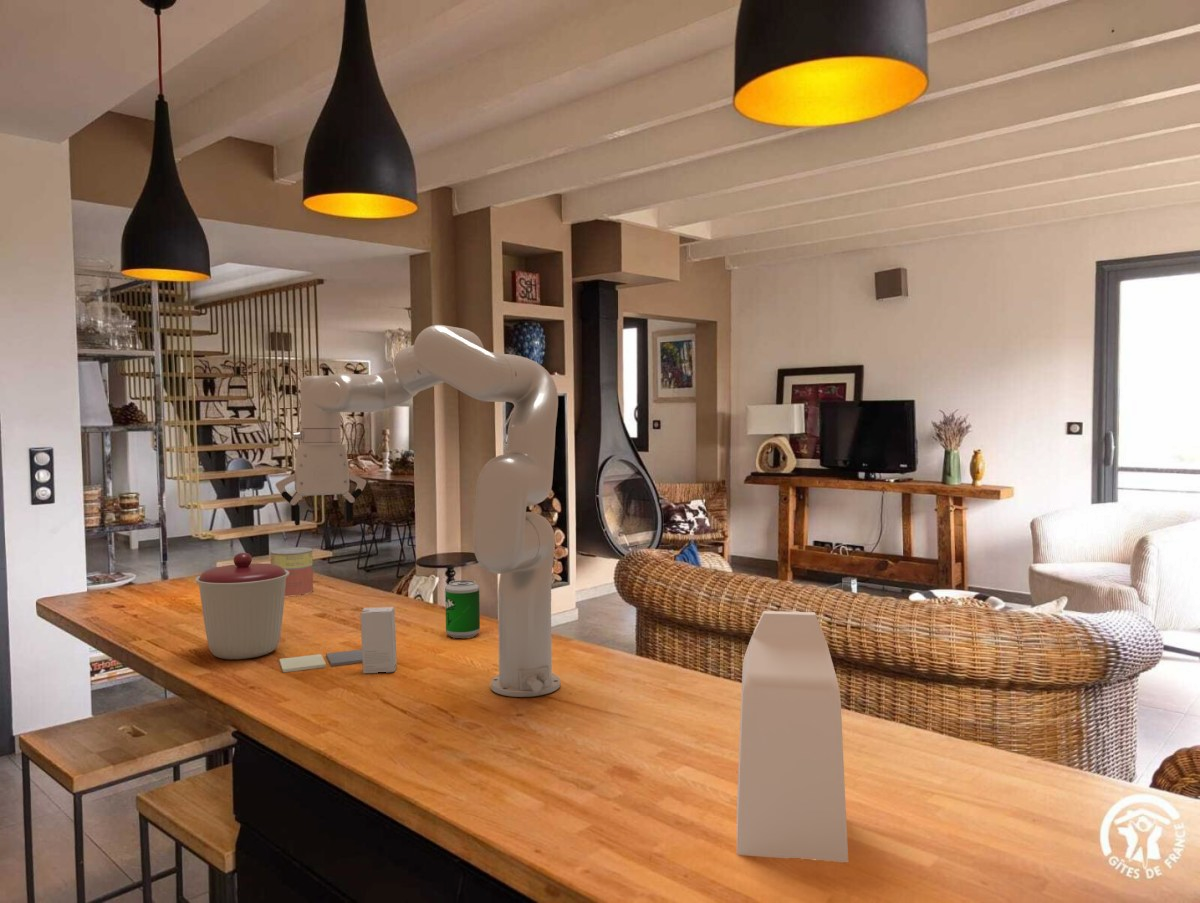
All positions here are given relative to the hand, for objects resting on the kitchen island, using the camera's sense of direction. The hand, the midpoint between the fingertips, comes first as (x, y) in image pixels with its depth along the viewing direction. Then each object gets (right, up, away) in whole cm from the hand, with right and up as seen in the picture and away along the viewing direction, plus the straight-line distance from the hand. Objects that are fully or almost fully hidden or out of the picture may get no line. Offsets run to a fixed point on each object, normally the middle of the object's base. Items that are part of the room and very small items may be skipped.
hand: (322, 523), depth 172 cm
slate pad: (+5, -28, +3) cm, 28 cm away
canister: (-19, -28, +7) cm, 34 cm away
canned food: (-31, -26, +70) cm, 81 cm away
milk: (+78, -31, -72) cm, 110 cm away
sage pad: (-4, -28, -1) cm, 28 cm away
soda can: (+25, -27, +21) cm, 42 cm away
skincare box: (+13, -28, -6) cm, 32 cm away
